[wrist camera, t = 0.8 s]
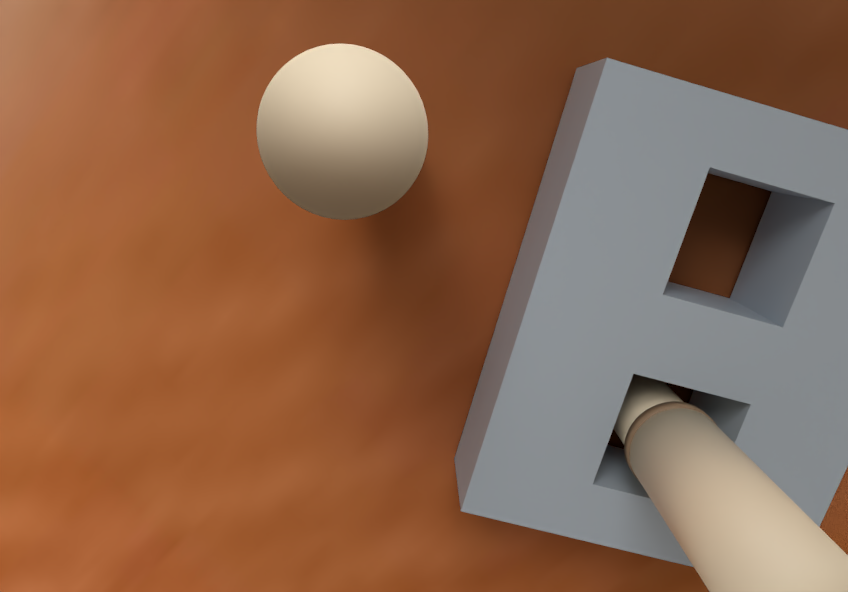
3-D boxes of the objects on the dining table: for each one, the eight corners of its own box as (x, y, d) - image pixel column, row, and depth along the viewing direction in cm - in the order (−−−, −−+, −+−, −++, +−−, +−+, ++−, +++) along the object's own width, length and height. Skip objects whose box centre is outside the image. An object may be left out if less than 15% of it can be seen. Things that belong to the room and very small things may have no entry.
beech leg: (344, 71, 31) (275, 19, 15) (432, 97, 31) (451, 70, 16) (323, 161, 32) (238, 195, 16) (408, 184, 32) (404, 240, 17)
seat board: (576, 68, 31) (740, 11, 16) (898, 163, 32) (1348, 200, 17) (454, 458, 36) (486, 716, 20) (740, 529, 37) (978, 822, 21)
